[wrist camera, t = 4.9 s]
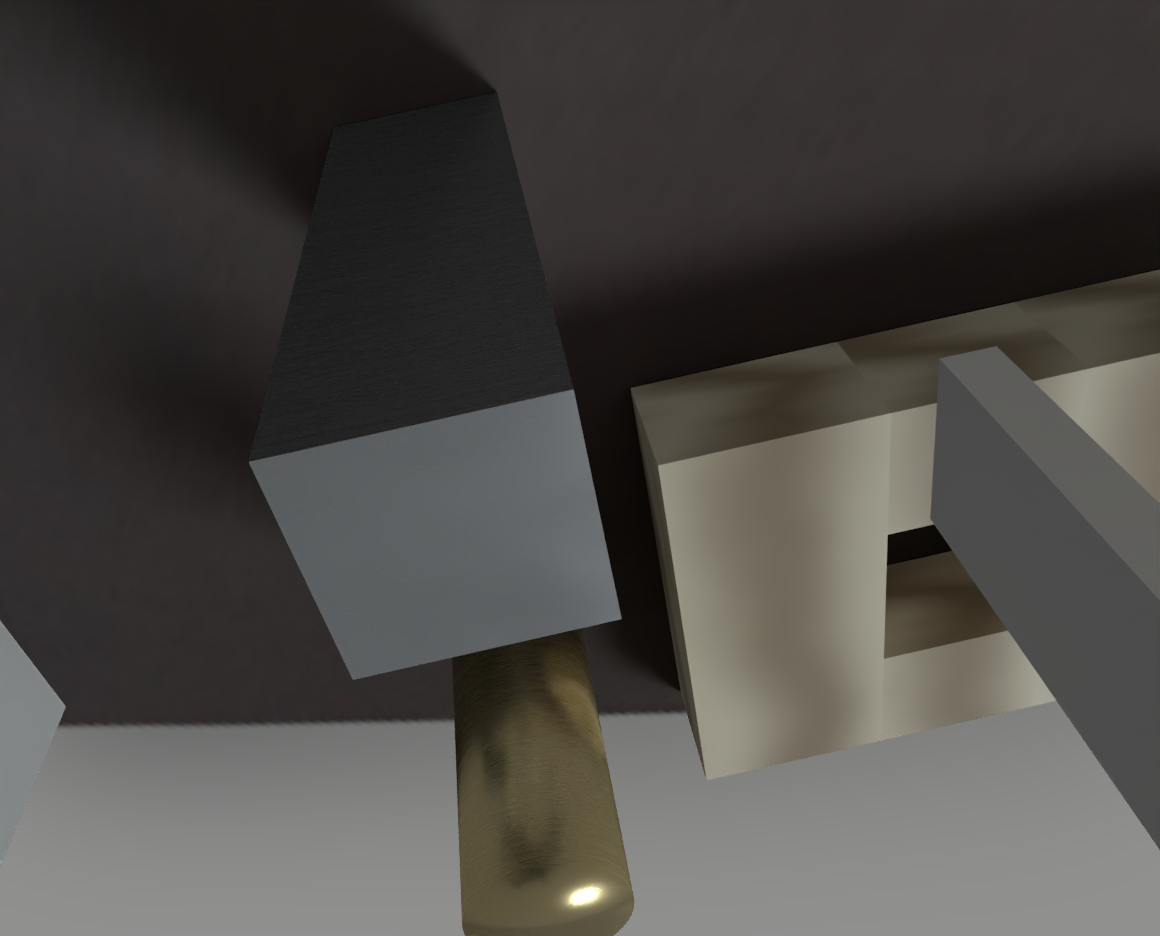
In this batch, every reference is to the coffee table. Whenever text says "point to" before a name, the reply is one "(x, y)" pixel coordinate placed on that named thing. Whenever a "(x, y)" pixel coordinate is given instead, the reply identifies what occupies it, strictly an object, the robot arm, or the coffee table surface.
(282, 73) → the coffee table surface
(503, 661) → the round bit
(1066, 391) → the socket block
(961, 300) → the coffee table surface
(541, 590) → the square bit
